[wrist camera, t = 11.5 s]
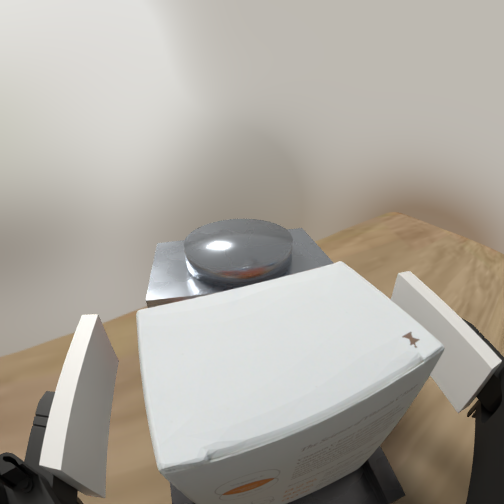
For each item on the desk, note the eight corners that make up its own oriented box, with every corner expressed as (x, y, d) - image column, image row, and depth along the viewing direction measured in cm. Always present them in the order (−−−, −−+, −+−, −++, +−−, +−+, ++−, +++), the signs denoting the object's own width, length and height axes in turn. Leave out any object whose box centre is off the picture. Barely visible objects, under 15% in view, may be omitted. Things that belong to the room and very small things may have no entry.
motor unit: (299, 321, 24) (307, 210, 20) (389, 503, 9) (502, 418, 4) (173, 339, 23) (147, 225, 18) (189, 552, 7) (93, 537, 3)
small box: (314, 404, 16) (345, 256, 11) (360, 470, 11) (452, 341, 6) (189, 444, 13) (131, 304, 8) (219, 526, 9) (153, 472, 4)
